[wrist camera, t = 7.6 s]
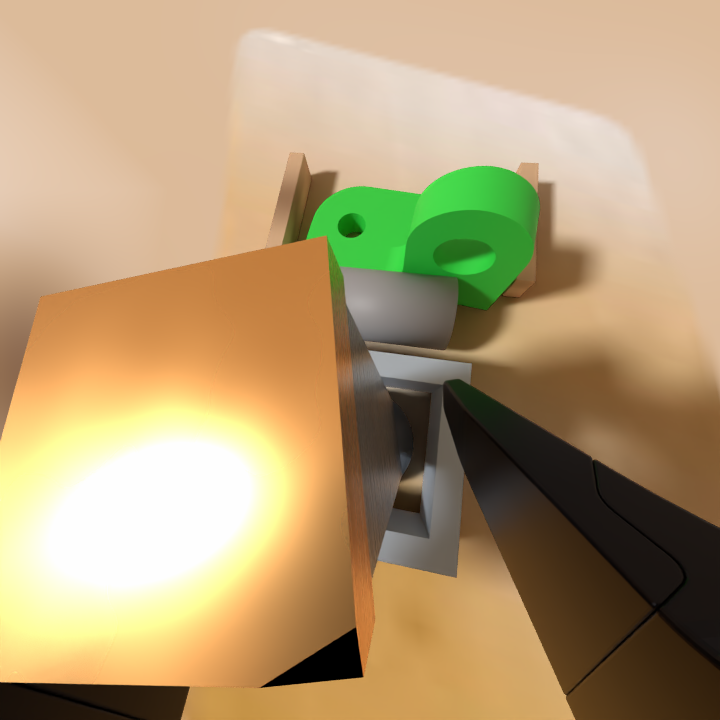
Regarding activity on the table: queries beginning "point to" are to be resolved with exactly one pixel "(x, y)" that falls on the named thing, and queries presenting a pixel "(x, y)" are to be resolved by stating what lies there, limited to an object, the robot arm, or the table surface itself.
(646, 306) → the table surface
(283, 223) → the bay rails
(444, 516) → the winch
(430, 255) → the mechanical part
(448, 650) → the table surface
